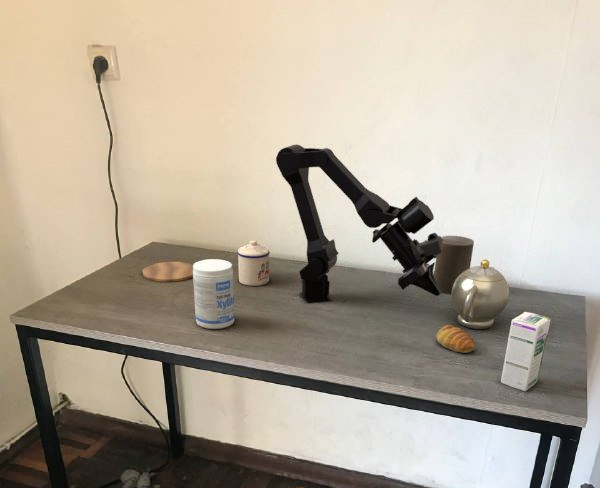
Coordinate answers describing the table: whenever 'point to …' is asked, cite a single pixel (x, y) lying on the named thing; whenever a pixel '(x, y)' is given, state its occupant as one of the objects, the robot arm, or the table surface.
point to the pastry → (455, 339)
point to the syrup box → (525, 350)
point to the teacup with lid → (253, 264)
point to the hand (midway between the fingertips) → (439, 294)
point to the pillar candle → (452, 261)
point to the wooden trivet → (168, 271)
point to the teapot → (479, 296)
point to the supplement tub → (213, 293)
